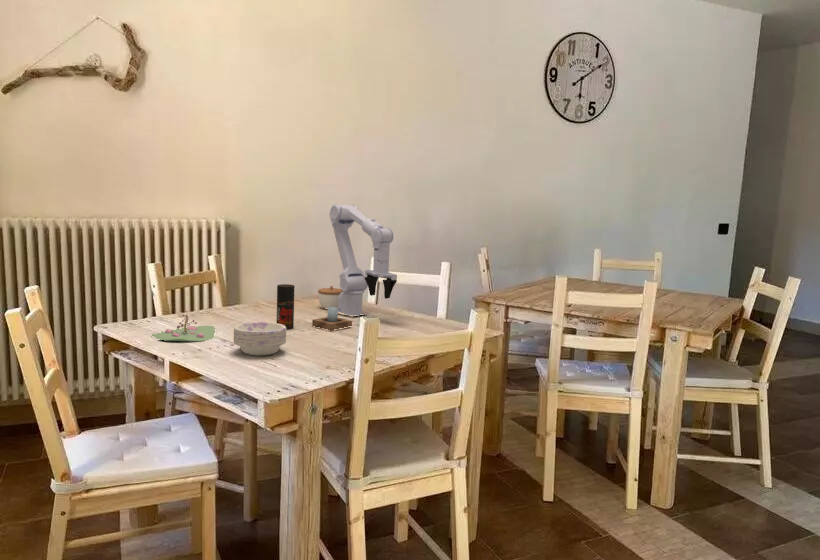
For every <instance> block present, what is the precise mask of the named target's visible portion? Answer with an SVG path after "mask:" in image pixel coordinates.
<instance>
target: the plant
mask: <svg viewBox="0 0 820 560" xmlns="http://www.w3.org/2000/svg"><path fill="white" fill-rule="evenodd" d="M187 312H188V310H185V313H187ZM185 313H183V314H182V317H185V318H183V320H181V322H178V324H179V325H178V326H176V328H175V329H176V330H173V329H170V328H168V329H165V332H163V331H160V332H161V333H158V332H156V333H157V334H155V333H152V334H151V335H152V336H154V337H156V338H157V339H160V340H164V341H163V342H206V341H205V340H207V341H210V340H209V339H211V340H213V339H212V338H213V337H214V333H215V330H214V329H216V327H215V326H214V325H197V324H198V323H197V321H195V320H194V319H192V321H190V322H189V316H188V314H185ZM184 320H185V321H184ZM182 322H184V323H182ZM191 324H192V325H191ZM193 324H194V325H193ZM188 326H189V327H188ZM195 326H196V327H195ZM197 326H198V327H197ZM183 327H184V328H183ZM186 327H187V328H186ZM214 327H215V328H214ZM179 328H182V329H179Z"/></svg>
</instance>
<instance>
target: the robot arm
mask: <svg viewBox="0 0 820 560" xmlns="http://www.w3.org/2000/svg"><path fill="white" fill-rule="evenodd" d="M329 218H330V221H331V222H330V223H331V226H332V228H333V233H334V237H335V241H336V244H337V247H338V248H337V249H338V253H339V257H340V260H341V265H342V268H343V270H342V272H341V273H340V274H339V287H340V289H341V290H342V291H343V292H341V293H340V295H339V297H338V312H341V313H344V314H347V315H360V314H362V313H363V294H365V291H366V290H367V288H368V292H369V296H375V295H376V291H377V289H376V288H377V283H378V280H379V278H381V279H382V283H383V284H382V285H383V288H384V289H383V290H384V291H383V292H384V299H385V300H388V299H390V298H391V295H392V294H391V293H392V292H393V289H394V288H395V287H394V286H395V285H396V283H397V281H398V280H397V279H398V275H397V273H396V274H395V273H392V272H389V270H390V269H389V267H390V246H391V245H390V244H391V243H392V242H393V240H394V232H393V230H392V229H391V228H390V227H384V226H383V225H382V224H380V223H379V222H377V221H376V219H375V218H373V217H370V218H368V217H366V216H365V215H364V214H363V213H362V212H361V211H360V210H359V207H358V206H356V205H355V204H336V203H334V204H333V205H332V206H331V208H330V210H329ZM354 223H357V224H358V225H360V226H361V229H362V231H363V232H364V233H365V234H366V235H368V236H369V237H370V239H371V242H372V247H373V264H372V265H373V266H372V268H373V269H371V270H370V269H366V270H362V269H361V268H359V267H358V265H357V261H356V258H355V254H354V249H353V246H352V243H351V239H350V235H349V231H348V230H349V229H350V228H351V227H352V226H353V225H354Z"/></svg>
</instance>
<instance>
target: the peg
mask: <svg viewBox="0 0 820 560" xmlns="http://www.w3.org/2000/svg"><path fill="white" fill-rule="evenodd" d="M326 317H327V321H328V322H337V318H339V314H338V308H337V307H328V310H327V316H326Z"/></svg>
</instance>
